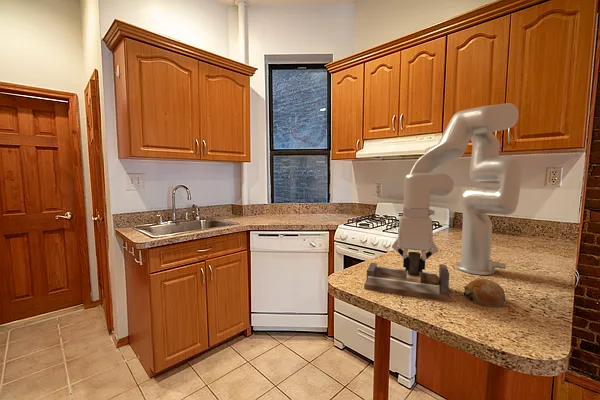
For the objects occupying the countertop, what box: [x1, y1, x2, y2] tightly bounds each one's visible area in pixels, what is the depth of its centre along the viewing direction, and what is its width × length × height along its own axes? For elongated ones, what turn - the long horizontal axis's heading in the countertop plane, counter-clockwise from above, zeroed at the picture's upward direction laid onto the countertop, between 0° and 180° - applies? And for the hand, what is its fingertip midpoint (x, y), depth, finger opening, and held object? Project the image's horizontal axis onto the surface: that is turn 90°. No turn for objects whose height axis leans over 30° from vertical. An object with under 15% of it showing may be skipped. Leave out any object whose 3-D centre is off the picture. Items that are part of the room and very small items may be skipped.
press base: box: [363, 262, 450, 302], centre depth 91 cm, size 24×12×8 cm, turn 68°
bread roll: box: [462, 278, 507, 308], centre depth 82 cm, size 10×10×8 cm
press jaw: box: [406, 251, 423, 283], centre depth 90 cm, size 5×9×10 cm, turn 158°
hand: (413, 270), depth 90 cm, fingers closed on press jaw, 3 cm apart
